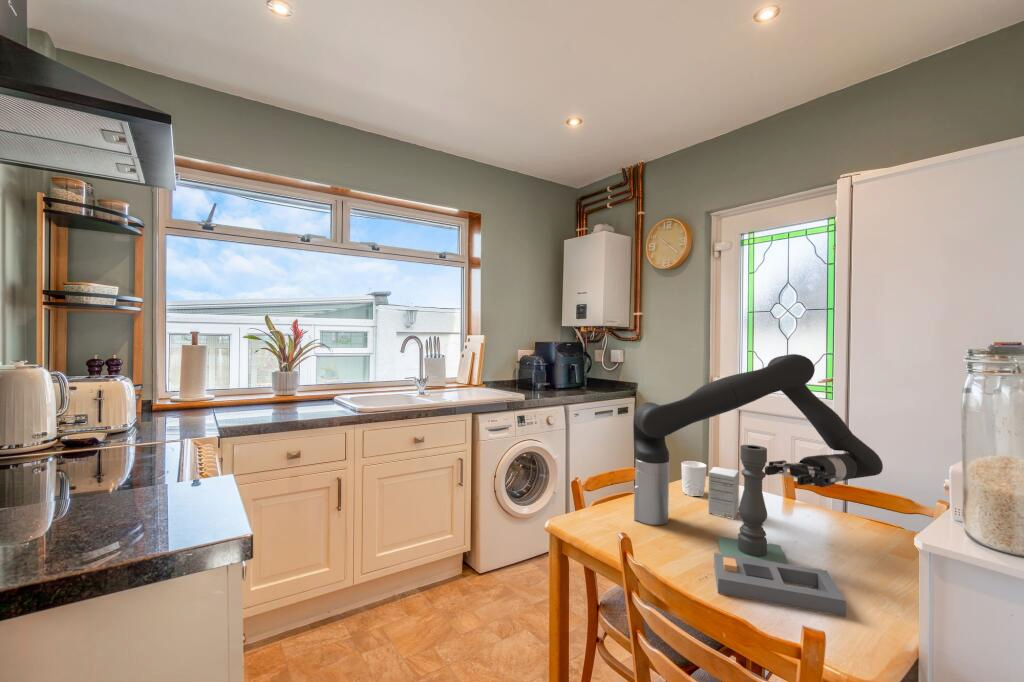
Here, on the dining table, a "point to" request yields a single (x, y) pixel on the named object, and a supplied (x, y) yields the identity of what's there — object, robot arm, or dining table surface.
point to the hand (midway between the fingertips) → (782, 475)
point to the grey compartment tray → (778, 584)
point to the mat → (731, 548)
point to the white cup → (693, 477)
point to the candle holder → (753, 502)
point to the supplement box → (723, 492)
